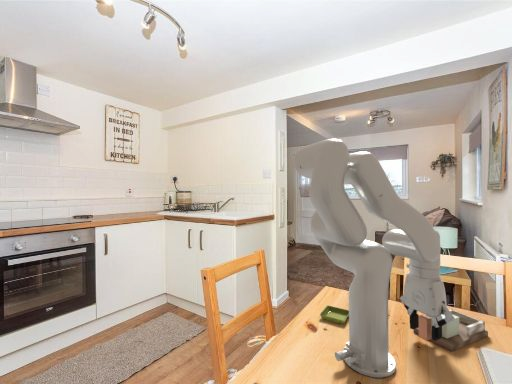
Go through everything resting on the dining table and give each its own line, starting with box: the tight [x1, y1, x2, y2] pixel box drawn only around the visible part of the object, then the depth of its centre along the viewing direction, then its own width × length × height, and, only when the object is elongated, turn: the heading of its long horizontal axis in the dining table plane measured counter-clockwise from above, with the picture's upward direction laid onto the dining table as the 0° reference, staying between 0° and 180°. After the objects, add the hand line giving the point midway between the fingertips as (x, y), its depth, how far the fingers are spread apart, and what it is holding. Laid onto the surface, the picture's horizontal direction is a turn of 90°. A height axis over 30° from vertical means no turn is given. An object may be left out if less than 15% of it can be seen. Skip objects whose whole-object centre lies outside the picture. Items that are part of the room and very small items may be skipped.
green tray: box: [319, 305, 349, 325], centre depth 91 cm, size 9×9×2 cm
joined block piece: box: [418, 314, 459, 341], centre depth 77 cm, size 12×6×6 cm, turn 113°
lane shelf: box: [413, 308, 489, 352], centre depth 80 cm, size 18×11×4 cm, turn 113°
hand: (425, 332), depth 75 cm, fingers open, 5 cm apart
